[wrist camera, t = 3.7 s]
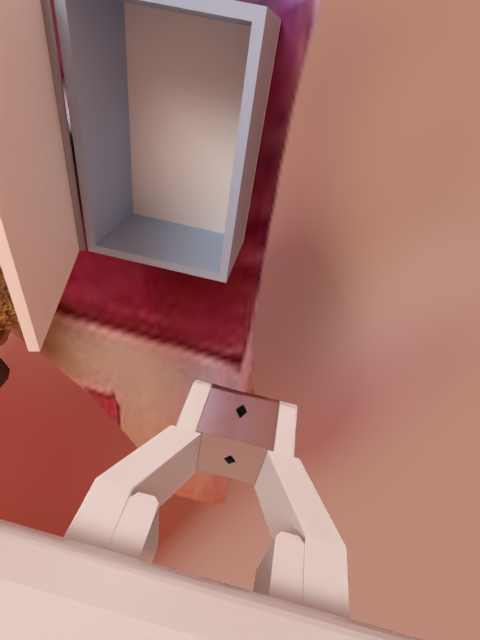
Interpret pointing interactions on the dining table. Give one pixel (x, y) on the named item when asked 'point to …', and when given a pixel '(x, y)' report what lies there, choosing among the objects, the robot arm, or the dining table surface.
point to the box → (167, 124)
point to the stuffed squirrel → (6, 311)
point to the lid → (35, 169)
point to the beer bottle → (3, 372)
